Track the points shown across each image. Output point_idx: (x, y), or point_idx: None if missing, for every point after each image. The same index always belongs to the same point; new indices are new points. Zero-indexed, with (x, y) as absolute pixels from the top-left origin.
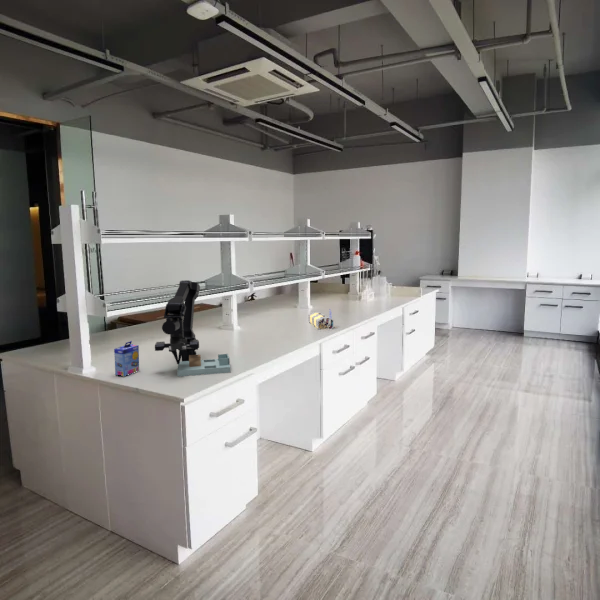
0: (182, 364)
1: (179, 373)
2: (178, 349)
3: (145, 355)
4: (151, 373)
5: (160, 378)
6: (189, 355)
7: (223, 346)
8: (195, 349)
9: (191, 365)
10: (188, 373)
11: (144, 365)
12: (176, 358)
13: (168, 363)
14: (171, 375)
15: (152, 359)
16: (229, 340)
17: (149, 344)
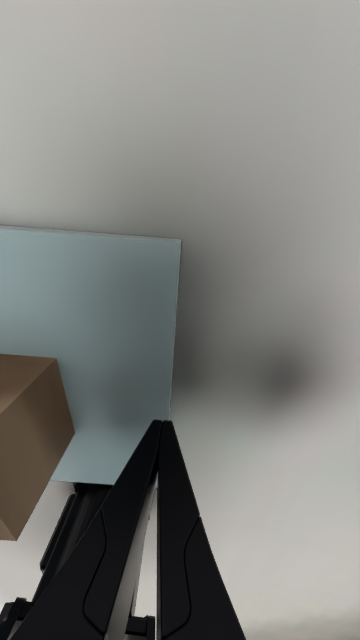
0: (131, 433)
1: (159, 238)
2: (150, 630)
3: (283, 575)
4: (355, 391)
5: (346, 236)
6: (5, 533)
7: (8, 575)
8: (12, 609)
9: (25, 364)
10: (65, 232)
11: (331, 506)
12: (174, 494)
13: (214, 500)
14: (231, 297)
15: (271, 547)
16: (7, 598)
17: (244, 618)
